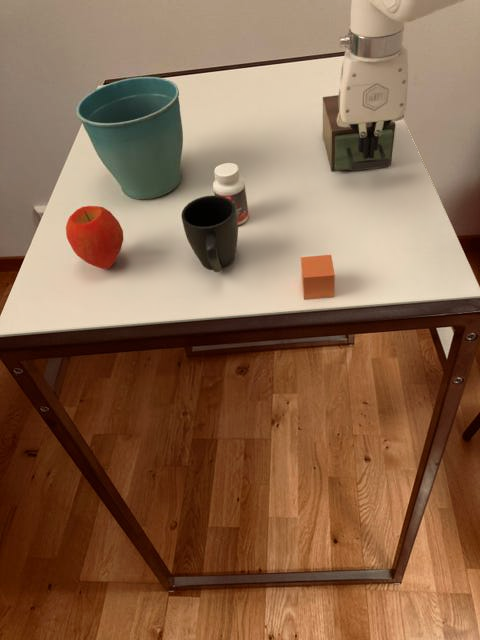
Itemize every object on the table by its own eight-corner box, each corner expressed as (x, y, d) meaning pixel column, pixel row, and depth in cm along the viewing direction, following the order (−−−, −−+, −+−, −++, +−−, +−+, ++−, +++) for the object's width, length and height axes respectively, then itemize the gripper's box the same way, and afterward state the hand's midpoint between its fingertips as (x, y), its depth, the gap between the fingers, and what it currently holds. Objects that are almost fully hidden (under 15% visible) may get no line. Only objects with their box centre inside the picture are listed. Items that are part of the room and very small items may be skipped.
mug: (191, 296, 78) (178, 248, 71) (193, 245, 86) (182, 198, 79) (245, 289, 77) (237, 241, 70) (241, 240, 85) (234, 191, 78)
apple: (141, 252, 86) (123, 199, 78) (115, 286, 81) (93, 233, 73) (100, 244, 89) (78, 192, 81) (72, 276, 84) (46, 224, 76)
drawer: (397, 183, 89) (401, 150, 85) (340, 189, 90) (341, 157, 85) (376, 131, 102) (379, 100, 97) (327, 136, 103) (327, 106, 98)
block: (330, 276, 77) (331, 254, 74) (334, 297, 74) (334, 275, 71) (301, 278, 77) (300, 256, 74) (303, 299, 74) (303, 277, 71)
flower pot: (104, 170, 106) (74, 89, 93) (187, 150, 107) (169, 67, 95) (110, 219, 94) (77, 133, 81) (204, 196, 95) (186, 108, 83)
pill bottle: (223, 230, 88) (214, 181, 80) (215, 213, 91) (206, 165, 84) (253, 222, 88) (246, 172, 81) (243, 205, 92) (237, 156, 85)
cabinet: (391, 164, 95) (395, 123, 89) (331, 171, 96) (331, 131, 90) (377, 129, 104) (380, 89, 98) (322, 135, 105) (322, 96, 99)
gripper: (327, 58, 72) (326, 171, 86) (434, 44, 71) (416, 161, 85) (321, 38, 77) (321, 148, 91) (421, 25, 76) (406, 138, 90)
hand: (367, 154), depth 88 cm, fingers closed
